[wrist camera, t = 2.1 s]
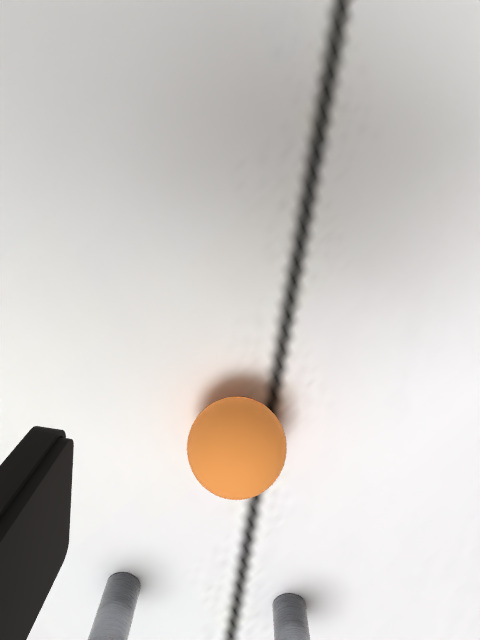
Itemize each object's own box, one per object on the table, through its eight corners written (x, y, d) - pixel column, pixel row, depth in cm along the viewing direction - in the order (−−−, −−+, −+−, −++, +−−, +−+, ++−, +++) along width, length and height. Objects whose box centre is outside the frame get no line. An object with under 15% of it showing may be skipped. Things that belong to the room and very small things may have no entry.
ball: (198, 373, 29) (187, 424, 23) (290, 386, 29) (300, 440, 23) (188, 451, 31) (175, 515, 25) (273, 463, 31) (280, 529, 25)
